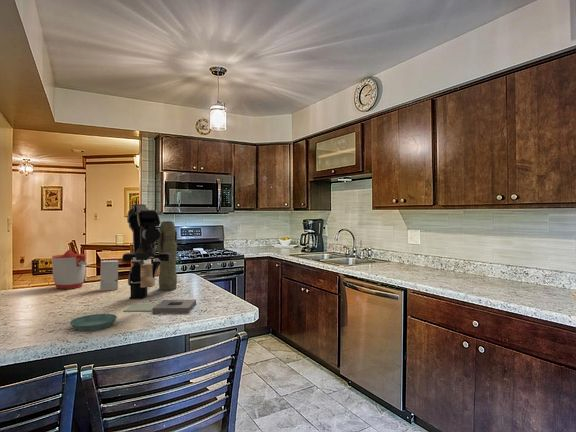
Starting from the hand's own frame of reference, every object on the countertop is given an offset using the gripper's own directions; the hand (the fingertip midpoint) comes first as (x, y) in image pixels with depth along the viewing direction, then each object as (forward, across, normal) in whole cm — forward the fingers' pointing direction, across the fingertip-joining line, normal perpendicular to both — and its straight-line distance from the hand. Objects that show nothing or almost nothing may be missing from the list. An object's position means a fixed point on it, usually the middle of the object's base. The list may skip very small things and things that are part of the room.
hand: (147, 277), depth 156 cm
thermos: (+13, -2, +39) cm, 41 cm away
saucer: (+13, -11, -24) cm, 29 cm away
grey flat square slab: (+13, +12, -2) cm, 17 cm away
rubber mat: (+13, -2, 0) cm, 13 cm away
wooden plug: (+4, 0, 0) cm, 4 cm away
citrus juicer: (+14, -55, +46) cm, 73 cm away
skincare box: (+14, -32, +40) cm, 53 cm away
